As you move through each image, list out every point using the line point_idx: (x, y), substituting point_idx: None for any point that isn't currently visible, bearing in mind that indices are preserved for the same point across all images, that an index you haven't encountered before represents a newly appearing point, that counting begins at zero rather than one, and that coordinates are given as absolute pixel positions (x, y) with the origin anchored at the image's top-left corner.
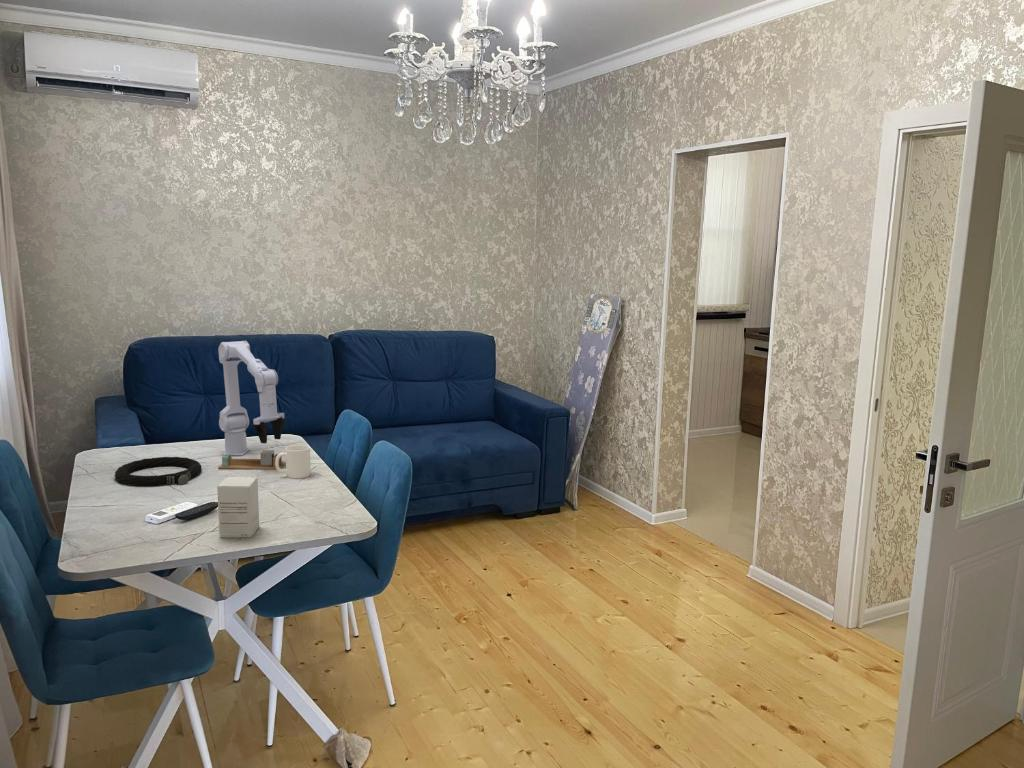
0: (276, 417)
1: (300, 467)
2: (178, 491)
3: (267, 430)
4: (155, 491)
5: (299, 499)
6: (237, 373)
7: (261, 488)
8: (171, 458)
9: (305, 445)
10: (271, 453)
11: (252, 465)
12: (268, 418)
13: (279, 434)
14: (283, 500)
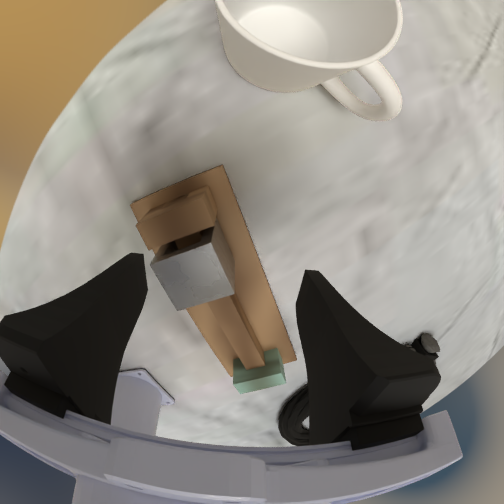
0: (257, 478)
1: (336, 3)
2: (466, 308)
3: (343, 335)
4: (458, 340)
5: (473, 4)
6: None
7: (453, 123)
8: (298, 436)
9: None
10: (211, 243)
11: (235, 293)
12: (355, 479)
13: (126, 274)
14: (492, 40)
